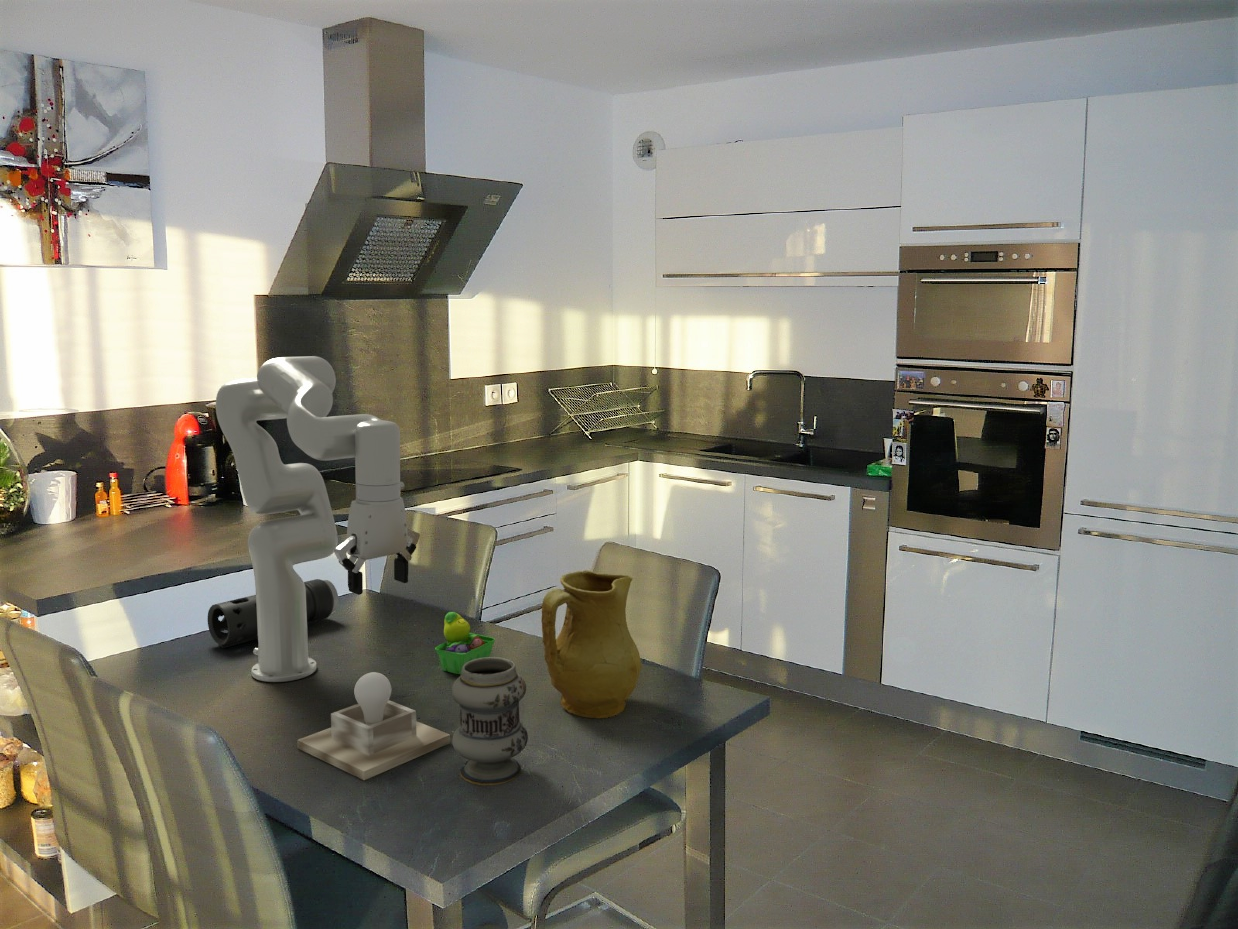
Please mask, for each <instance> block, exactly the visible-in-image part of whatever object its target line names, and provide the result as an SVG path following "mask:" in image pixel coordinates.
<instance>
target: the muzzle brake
mask: <svg viewBox="0 0 1238 929" xmlns="http://www.w3.org/2000/svg"><path fill="white" fill-rule="evenodd" d="M303 582H304V584H305V589H306V611H307V627H308V626H309V623H315V622H318V621H321V620H326V619H328V618H329V617H330V616H331V615H332V614H334V613H336V612H337V610H338V607H339V595H338V594H339V593H338V591H337V588H336V586H335V584H334V583H333V582H332V581H330V580H328V579H323V580H322V579H319V578H317V579H311V580H308V581H303ZM220 617H222V619H221V620H220V619H219V618H220ZM207 627H208V630H209V634H210V635H211V638H212V640H213V641H214V642H215V643H216V644H217V645H218V646H219V647H220V648H223V649H226V648H230V647H232V646H237V645H240V644H244V643H248V642H252V641H255V640H258V626H257V605H256V594H253V595H249V596H245V597H241V598H236V599H233V600H226V601H223V602H219V603H215V604H212V605H211V606H210V607H209V610H207ZM224 631H227V632H224Z"/></svg>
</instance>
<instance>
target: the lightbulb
mask: <svg viewBox="0 0 1238 929" xmlns="http://www.w3.org/2000/svg"><path fill="white" fill-rule="evenodd" d="M353 693H354V697H355V700H356V702H357V704H359V705H360V707H361V709H362V711H363V714H364V721H365V722H366V725H368V726H370V725H373V724H376V723H378V722H381V721H382V720H383V713H384V709H385V706H386V704H387V702H388V700H390V699H391V695H392V685H391V682H390V680H389V679H388V677H386V675H384V674H382V673H380V672H377V671H376V672H375V671H373V672H368V673H365V674H364V675H362V676H360V678H359V679H358V680H357V681H356V682H355V685H354V690H353Z"/></svg>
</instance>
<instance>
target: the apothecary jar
mask: <svg viewBox="0 0 1238 929" xmlns="http://www.w3.org/2000/svg"><path fill="white" fill-rule="evenodd" d="M526 692H527V683H526V681H525V679H524V678H523V676H521V675H520V674H519V673H518V672H517V670H516V664H515V662H514V661H512V660H511V659H508V658H504V657H499V656H490V657H484V658H478V659H474V660H471V661H469V662H467V663H465V664H464V665H463V667H462V671H461V675H460V676H459V677H457V678H456V680H455V681H454V682H453V684H452V687H451V696H452V698H453V699H454V701H455V702H456V703H457V704H459V726H458V728H456V730H455V731H454V733H453V735H452V746H453V749H454V751H455V752H456V753H457V754H458V755H459V756H460V757H462V758H463V759H466V760H467V761H466V762H465V763H464V765H463V766H461V768H460V769H459V774H460V778H461V779H463V780H464V781H466V782H468V783H470V784H473V785H476V784H477V786H484V785H489V786H497V785H503V784H506V783H509V782H511V781H513V780H515V779H516V778H518V776H520V774H521V772H522V766H521V764H520V762H519V761H517V760H516V759H515V758H514V757H516V756H518V754H519V755H520V753H521V752H522V751H523V750H524V749H525V747H526V746H527V743H528V740H529V734H528V730H527V729H526V726H525V725H523V723H522V722H521V718H520V701H522V699H523V698H524V697H525V695H526Z"/></svg>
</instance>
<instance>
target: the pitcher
mask: <svg viewBox="0 0 1238 929" xmlns="http://www.w3.org/2000/svg"><path fill="white" fill-rule="evenodd" d="M632 581H633V577H631V576H630V575H629V574H628V575H627V574H620V573H619V574H615V573H614V574H612V573H601V572H596V571H593V570H587V569H586V570H585V569H584V570H583V571H582V570H578V571H577V570H576V571H573V572H568V573H566V574H563V575H562V576H561V577H560V584H561V585H562V588H563V589H561V588H552V589H550V590H549V591H548V592H546V594H545V595H544V598H543V599H542V603H541V622H540V623H541V633H542V643H543V646H544V656H543V657H544V658H543V659H544V661H545V663H546V666H547V672H548V673H549V677H550V682H551V685H552V687H554V688H555V690H556V691H558V692H559V693H560V694H561V698H560V706H561V707H562V709H565V710H566V711H567V712H568V713H569V714H573V715H575V716H578V717H583V718H590V719H604V718H606V719H608V717H609V718H612V717H616V716H618V715H620V712H621V713H623V712H624V710H625V709H626V706H625V705H626V701H627V700H628V699H629V697H630V696H631V695H632V693H633V691H634V690H635V688H636V687H637V682H638V680H639V677H640V675H641V674H640V673H641V671H642V661H641V656H640V652H639V650H638V649H639V648H638V647H637V644H636V642H635V641H634V639H633V637H632V635H631V633H630V631H629V630H630V629H629V627H628V624H627V614H626V608H627V600H628V594H629V590H630V587H631V582H632ZM564 604H566V609H565V614H564V616H565V617H564V619H563V620H564V621H563V624H562V627H561V629H560V632H559V634H558V636H557V637H556V632H557V631H556V619H557V611H558V609H559V607H560V606H563V605H564ZM624 706H625V707H624ZM624 708H625V709H624ZM615 715H616V716H615Z"/></svg>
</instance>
